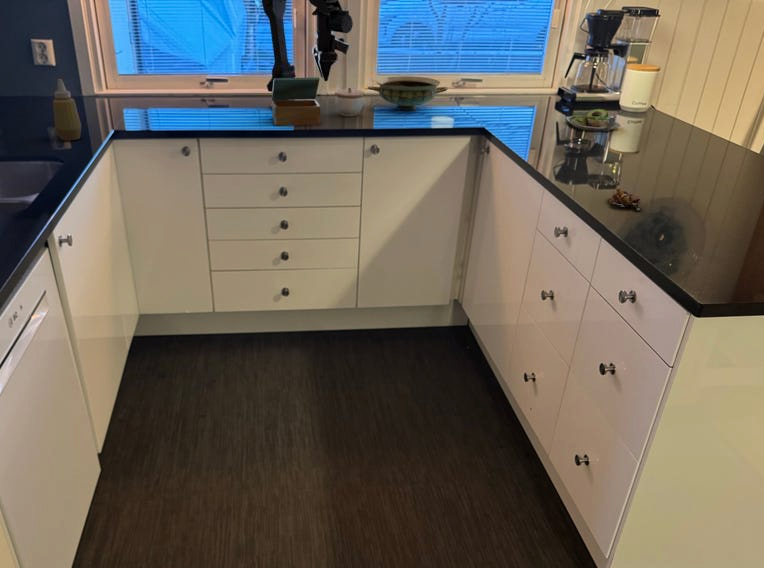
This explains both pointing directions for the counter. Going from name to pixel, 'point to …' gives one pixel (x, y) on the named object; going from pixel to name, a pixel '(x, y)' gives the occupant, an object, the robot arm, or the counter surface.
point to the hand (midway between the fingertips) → (324, 79)
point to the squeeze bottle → (66, 114)
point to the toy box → (295, 112)
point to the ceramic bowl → (408, 90)
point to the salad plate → (593, 121)
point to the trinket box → (349, 101)
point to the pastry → (624, 199)
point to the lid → (295, 88)
